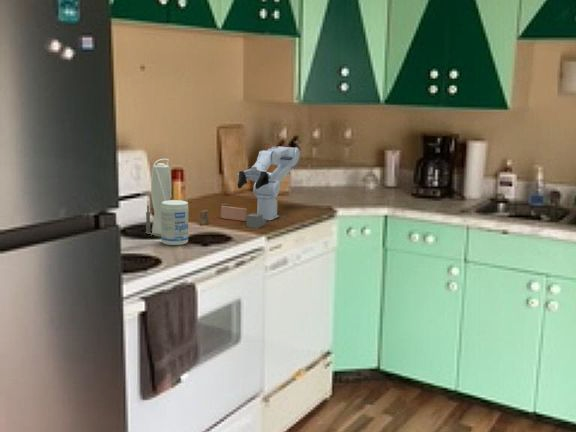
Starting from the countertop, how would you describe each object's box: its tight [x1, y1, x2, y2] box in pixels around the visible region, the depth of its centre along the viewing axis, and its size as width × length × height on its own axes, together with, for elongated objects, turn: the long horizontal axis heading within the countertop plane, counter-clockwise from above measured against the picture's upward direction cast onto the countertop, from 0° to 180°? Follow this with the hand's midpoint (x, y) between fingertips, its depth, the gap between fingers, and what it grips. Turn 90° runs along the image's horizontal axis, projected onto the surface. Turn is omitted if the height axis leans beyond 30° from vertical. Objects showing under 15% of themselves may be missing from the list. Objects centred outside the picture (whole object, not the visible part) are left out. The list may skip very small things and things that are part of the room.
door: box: [220, 205, 248, 222], centre depth 276 cm, size 11×1×5 cm, turn 67°
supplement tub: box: [160, 199, 189, 246], centre depth 234 cm, size 10×10×15 cm
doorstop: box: [246, 212, 267, 229], centre depth 267 cm, size 9×4×5 cm, turn 158°
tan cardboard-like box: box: [199, 203, 229, 226], centre depth 273 cm, size 20×2×6 cm, turn 157°
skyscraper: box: [145, 158, 172, 238], centre depth 246 cm, size 8×8×28 cm
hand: (247, 186), depth 260 cm, fingers open, 7 cm apart
